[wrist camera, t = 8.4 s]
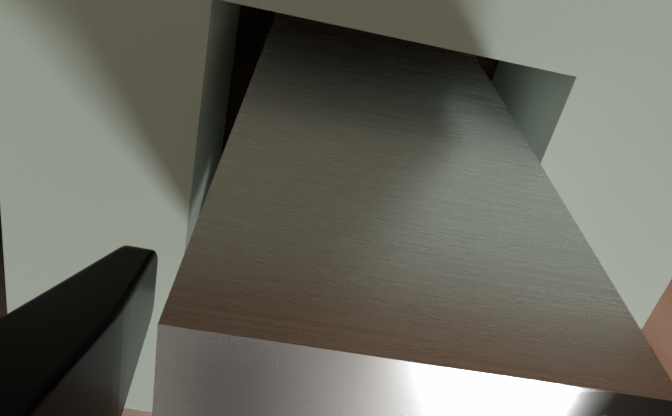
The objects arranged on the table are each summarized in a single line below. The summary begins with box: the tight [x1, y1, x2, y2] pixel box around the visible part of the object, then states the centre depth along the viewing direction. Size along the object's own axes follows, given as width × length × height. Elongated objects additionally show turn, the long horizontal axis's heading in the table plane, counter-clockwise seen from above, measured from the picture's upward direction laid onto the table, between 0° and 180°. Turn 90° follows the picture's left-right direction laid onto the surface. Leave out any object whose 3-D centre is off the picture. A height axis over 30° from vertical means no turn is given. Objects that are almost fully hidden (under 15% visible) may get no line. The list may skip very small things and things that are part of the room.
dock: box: [0, 0, 672, 412], centre depth 13 cm, size 12×12×4 cm
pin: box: [152, 12, 672, 416], centre depth 10 cm, size 4×4×10 cm
